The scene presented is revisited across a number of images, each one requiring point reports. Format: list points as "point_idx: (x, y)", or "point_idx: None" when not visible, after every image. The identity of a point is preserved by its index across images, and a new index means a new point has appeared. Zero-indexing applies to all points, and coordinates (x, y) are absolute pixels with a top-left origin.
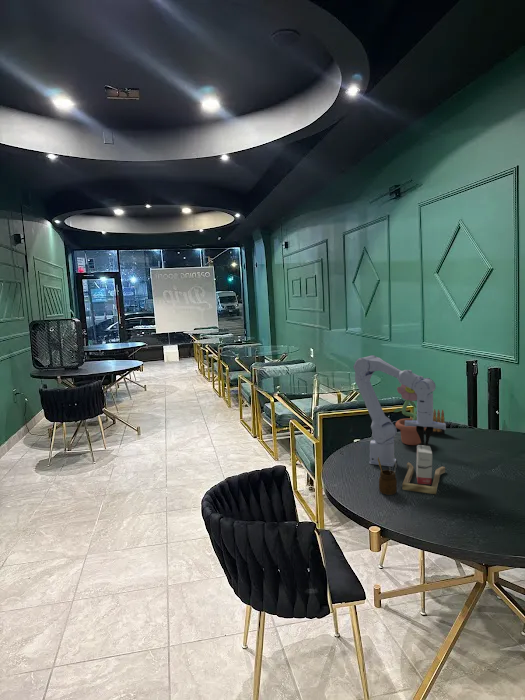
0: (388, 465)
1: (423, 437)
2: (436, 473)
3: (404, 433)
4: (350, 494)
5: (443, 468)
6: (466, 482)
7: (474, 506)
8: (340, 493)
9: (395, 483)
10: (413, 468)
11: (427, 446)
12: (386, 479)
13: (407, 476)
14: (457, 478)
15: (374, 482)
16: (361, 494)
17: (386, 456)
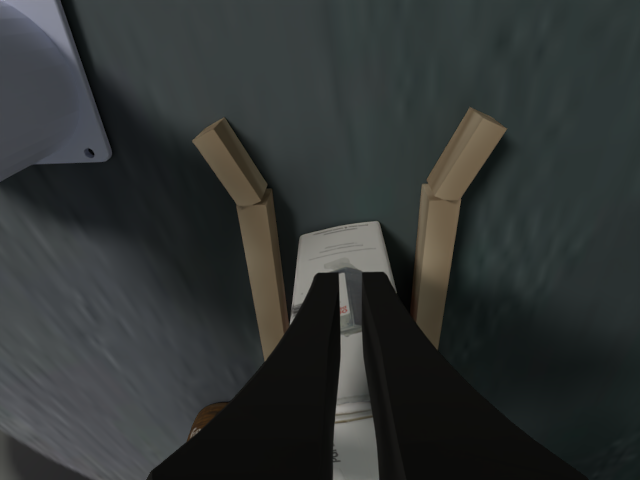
0: (78, 162)
1: (331, 401)
2: (432, 267)
3: None
4: (122, 462)
5: (489, 153)
6: (607, 239)
7: (566, 434)
8: (89, 464)
9: None
10: (269, 211)
11: None
12: None
13: (272, 349)
14: (563, 198)
15: (140, 371)
16: (155, 454)
17: (9, 175)
